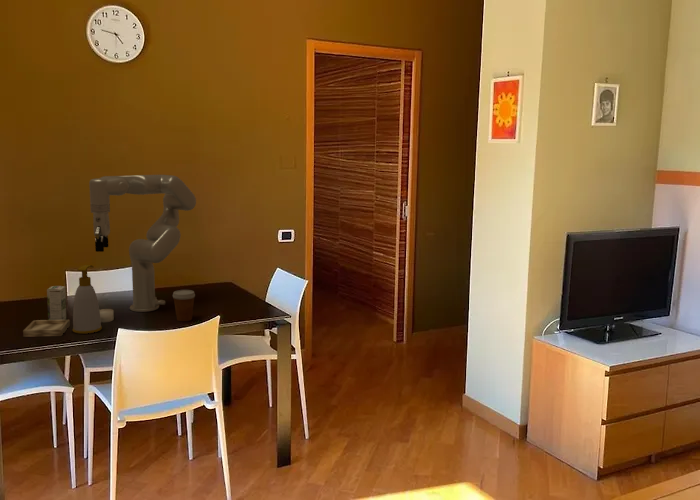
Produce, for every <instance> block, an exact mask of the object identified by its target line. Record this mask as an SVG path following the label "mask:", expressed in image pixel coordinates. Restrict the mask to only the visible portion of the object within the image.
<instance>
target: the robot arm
mask: <svg viewBox="0 0 700 500" xmlns="http://www.w3.org/2000/svg"><path fill="white" fill-rule="evenodd" d="M88 187H89V203H90V213H92V214H93V216H92V217H93V220H92V221H93V224H92V225H93V236H94V237H95V238H94V239H95V240H94V241H95V242H94V245H95V246H94V247H95V252H98V253H100V252H102V253H103V252H105V251H104V250H105V248H109V235H110V233H111V226H110V215H109V214H110V212H111V207H110V205H111V201H110V196H123V195H125V194H129V195H138V196H139V195H142V196H143V195H158V194H159V195H160V194H161V195H162V194H164V195H163V198H162V205H163V210H162V211H163V212H162V214H161V215H160V216H159V218H158V219H156V221H155V222H154V223H153V224H152V225H151V226H150V227H149V229H148V230H147V231H146V239H144V238H138V239H135V240H133V241H132V242H131V243H130V244H129V247H128V252H129V253H128V254H129V259H130V262H131V278H132V280H131V281H132V302H133V303H132V304H131V305H130V306H129V310H130V311H132V312H139V313H140V312H141V313H142V312H143V313H144V312H145V313H146V312H147V313H148V312H154V311H156V310H158V309H159V308H160V306H161V305H162V306H165V305H166V300H163V299H157V296H156V290H155V287H156V286H155V281H156V280H155V266H154V264H158V263H161V262H163V261H164V260H165V259H166V258H167V257H168V256H169V255H170V253H171V252H173V250H174V249H175V248H176V247H177V246H178V244H179V243H180V240H181V231H180V229H179V228H178V225H179V223H180V214H179V211H184V212H185V211H191V210H193V209H194V208H195V207H196V204H197V198H196V196H195V194H194V193H193V191H192V190H191V189H190V188H189V187H188V185H187V184H186V183H185V182H184V181H183V180H182V179H181V178H179V177H178V176H176V175H171V174H169V175H168V174H136V175H135V174H134V175H103V176H101V177H99V178H97V177H96V178H92V179H91V178H90V180H89V186H88Z"/></svg>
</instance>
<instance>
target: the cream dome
mask: <svg viewBox="0 0 700 500" xmlns="http://www.w3.org/2000/svg"><path fill="white" fill-rule="evenodd" d="M99 311H100V319H101V323H110V322H113V321H114V320H115V318H114V317H115V316H114V309H112V308H101V309H99Z"/></svg>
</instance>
